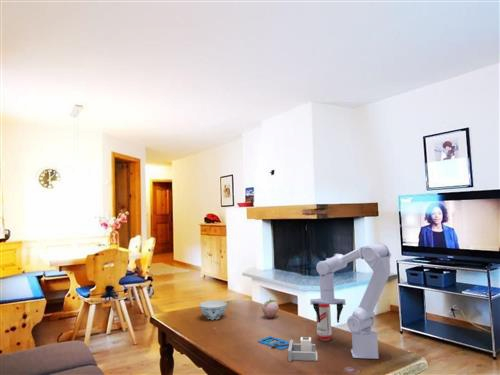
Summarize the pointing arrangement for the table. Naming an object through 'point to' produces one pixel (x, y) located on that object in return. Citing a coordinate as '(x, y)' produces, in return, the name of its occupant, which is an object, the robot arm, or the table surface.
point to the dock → (301, 353)
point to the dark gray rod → (280, 345)
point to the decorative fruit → (270, 308)
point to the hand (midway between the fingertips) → (328, 321)
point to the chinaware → (213, 309)
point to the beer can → (324, 323)
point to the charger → (306, 344)
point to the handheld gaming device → (274, 342)
